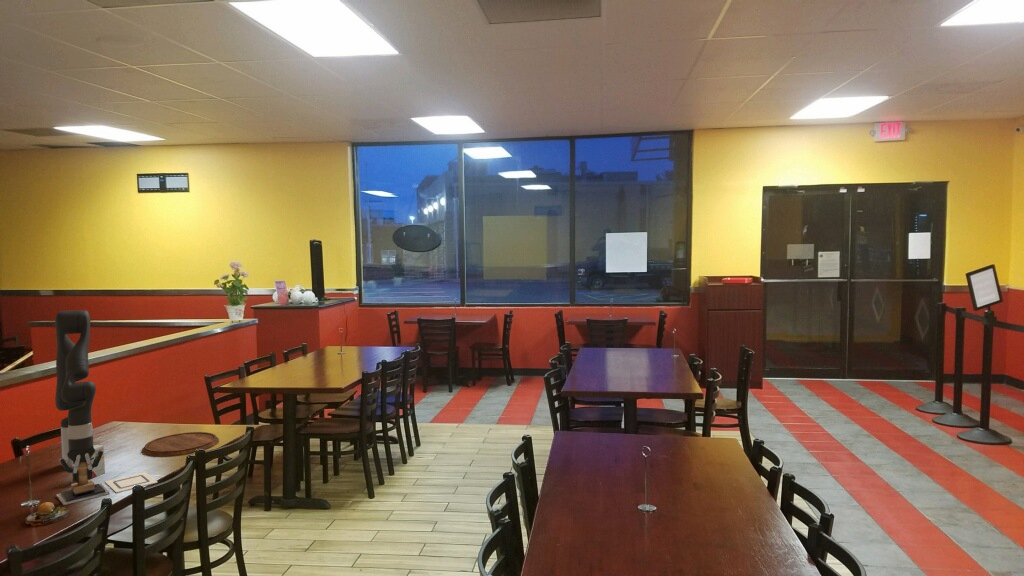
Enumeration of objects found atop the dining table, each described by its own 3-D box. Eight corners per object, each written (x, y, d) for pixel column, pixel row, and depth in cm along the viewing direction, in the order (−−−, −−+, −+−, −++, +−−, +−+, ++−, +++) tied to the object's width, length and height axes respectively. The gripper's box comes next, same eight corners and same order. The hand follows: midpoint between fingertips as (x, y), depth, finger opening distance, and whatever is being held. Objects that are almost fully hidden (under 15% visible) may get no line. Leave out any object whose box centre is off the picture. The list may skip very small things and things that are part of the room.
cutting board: (165, 462, 259) (165, 456, 259) (128, 450, 276) (127, 444, 276) (233, 442, 287) (233, 437, 286) (195, 432, 303) (195, 427, 303)
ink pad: (56, 496, 221) (56, 492, 221) (101, 485, 232) (100, 482, 232) (63, 505, 213) (63, 501, 213) (109, 493, 224) (109, 490, 223)
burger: (77, 511, 209) (76, 490, 209) (52, 526, 197) (52, 504, 197) (42, 511, 209) (41, 491, 208) (15, 527, 197) (14, 505, 196)
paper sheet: (105, 482, 235) (105, 481, 235) (145, 472, 245) (145, 471, 245) (116, 493, 224) (116, 491, 224) (157, 482, 235) (157, 481, 235)
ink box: (86, 480, 237) (85, 451, 237) (76, 479, 238) (75, 450, 238) (105, 473, 246) (104, 444, 245) (95, 472, 247) (94, 444, 246)
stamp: (71, 490, 222) (70, 461, 222) (90, 485, 227) (89, 457, 226) (75, 494, 218) (73, 464, 218) (94, 490, 223) (93, 460, 222)
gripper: (100, 429, 229) (102, 473, 230) (55, 437, 219) (57, 483, 220) (105, 433, 224) (107, 478, 225) (59, 441, 214) (61, 488, 215)
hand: (82, 480), depth 222 cm, fingers closed on stamp, 3 cm apart
